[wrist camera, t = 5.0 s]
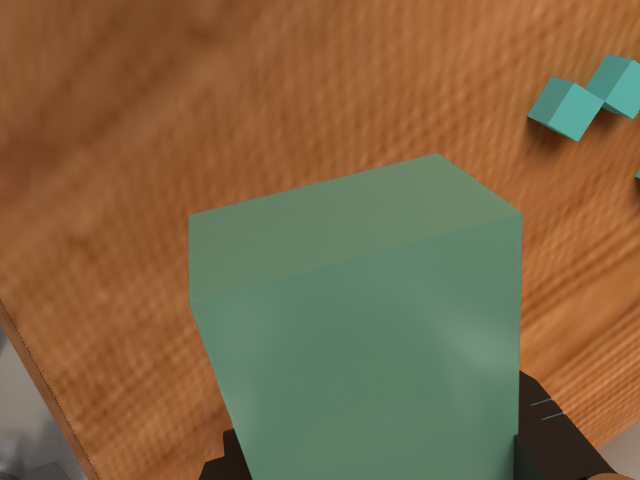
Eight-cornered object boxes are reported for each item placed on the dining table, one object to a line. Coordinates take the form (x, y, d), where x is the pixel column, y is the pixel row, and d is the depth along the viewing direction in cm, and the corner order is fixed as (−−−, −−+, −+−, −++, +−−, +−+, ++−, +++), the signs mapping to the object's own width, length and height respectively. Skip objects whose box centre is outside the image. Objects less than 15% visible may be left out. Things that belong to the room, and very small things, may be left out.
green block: (188, 215, 10) (188, 303, 7) (438, 152, 10) (522, 213, 8) (305, 571, 16) (328, 691, 13) (461, 518, 16) (514, 623, 14)
